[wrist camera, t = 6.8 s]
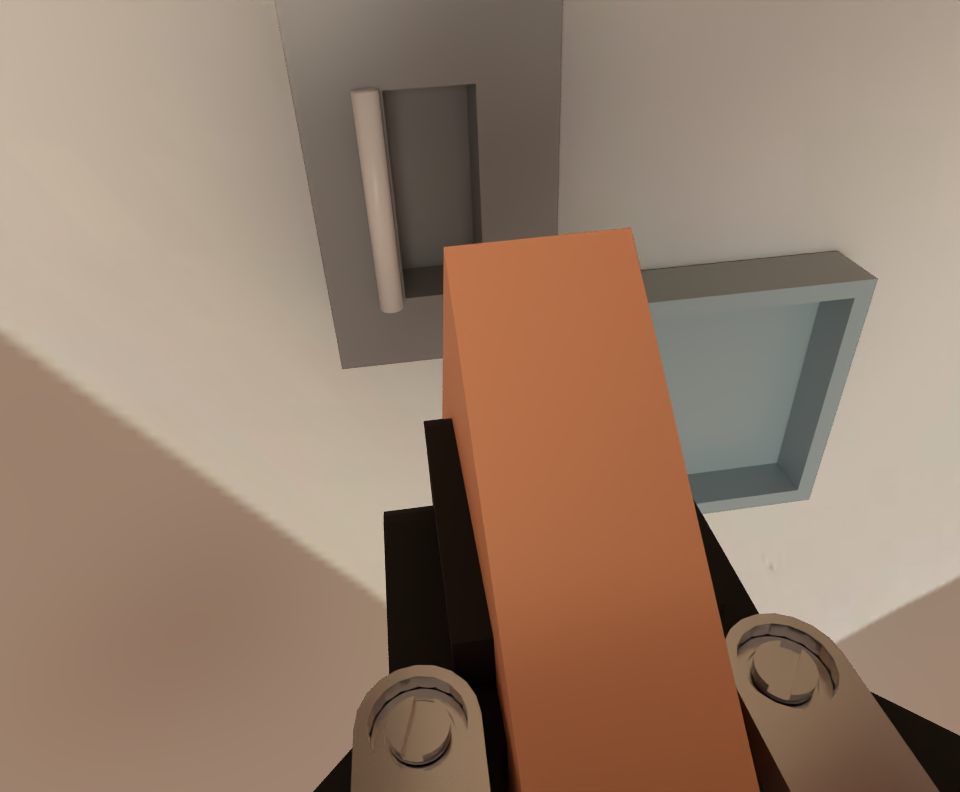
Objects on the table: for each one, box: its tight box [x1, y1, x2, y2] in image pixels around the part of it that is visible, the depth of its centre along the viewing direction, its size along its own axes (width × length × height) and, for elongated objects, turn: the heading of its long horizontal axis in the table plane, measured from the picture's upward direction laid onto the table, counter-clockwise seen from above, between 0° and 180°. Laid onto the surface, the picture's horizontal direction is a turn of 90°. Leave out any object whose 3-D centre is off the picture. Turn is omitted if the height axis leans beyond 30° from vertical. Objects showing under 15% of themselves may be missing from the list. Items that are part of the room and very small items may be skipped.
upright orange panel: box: [442, 228, 760, 792], centre depth 11 cm, size 2×6×9 cm
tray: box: [641, 251, 878, 514], centre depth 33 cm, size 13×13×3 cm
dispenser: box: [275, 0, 563, 369], centre depth 24 cm, size 8×12×6 cm, turn 2°
